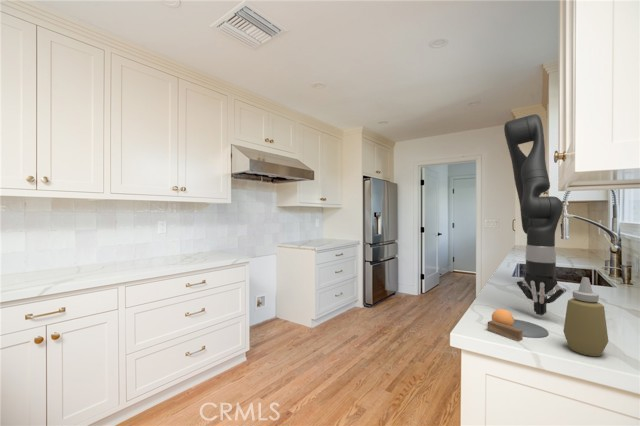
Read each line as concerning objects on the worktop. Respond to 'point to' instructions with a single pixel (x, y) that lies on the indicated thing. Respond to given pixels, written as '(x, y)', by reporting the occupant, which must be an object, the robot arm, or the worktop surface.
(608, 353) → the worktop surface
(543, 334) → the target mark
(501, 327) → the strip
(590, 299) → the squeeze bottle
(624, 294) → the worktop surface
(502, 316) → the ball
